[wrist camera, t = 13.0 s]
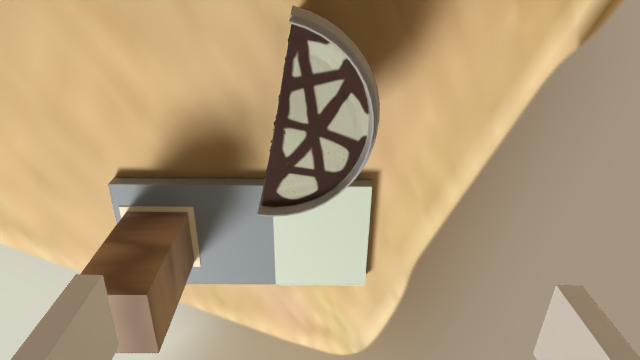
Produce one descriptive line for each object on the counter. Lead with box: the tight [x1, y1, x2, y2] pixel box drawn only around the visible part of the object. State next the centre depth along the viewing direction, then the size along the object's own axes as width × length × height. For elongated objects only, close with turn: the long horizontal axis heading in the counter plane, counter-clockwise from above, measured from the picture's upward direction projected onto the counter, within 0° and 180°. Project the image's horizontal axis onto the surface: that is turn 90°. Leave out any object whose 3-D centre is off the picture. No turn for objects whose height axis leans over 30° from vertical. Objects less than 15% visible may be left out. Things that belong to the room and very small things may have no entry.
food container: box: [257, 6, 380, 217], centre depth 29 cm, size 12×6×10 cm, turn 168°
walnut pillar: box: [80, 212, 195, 353], centre depth 33 cm, size 5×5×10 cm
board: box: [108, 178, 372, 285], centre depth 38 cm, size 21×10×1 cm, turn 89°
